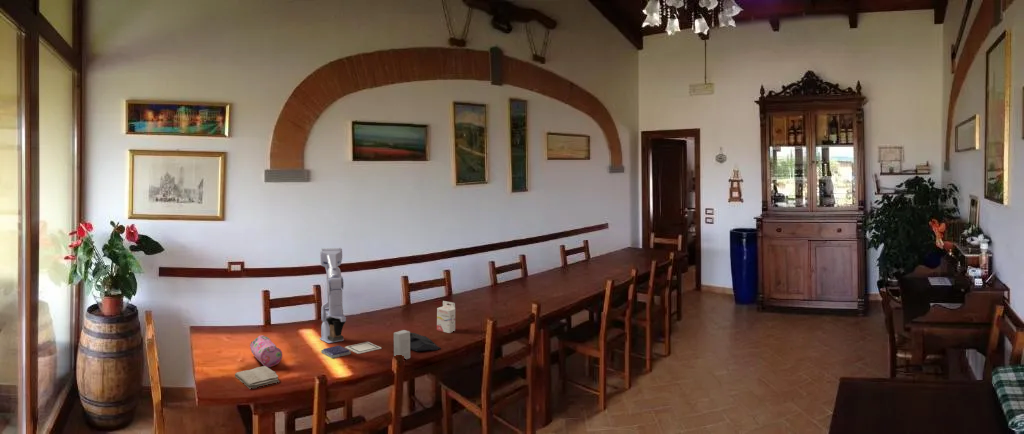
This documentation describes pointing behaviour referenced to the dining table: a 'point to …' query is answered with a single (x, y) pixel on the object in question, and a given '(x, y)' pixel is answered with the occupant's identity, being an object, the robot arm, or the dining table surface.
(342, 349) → the ink pad
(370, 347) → the print card
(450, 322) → the ink cartridge box
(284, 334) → the dining table surface
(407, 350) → the skincare box
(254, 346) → the pencil case
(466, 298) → the dining table surface
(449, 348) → the dining table surface
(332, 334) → the stamp
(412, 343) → the dark slate chunk
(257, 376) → the washcloth
